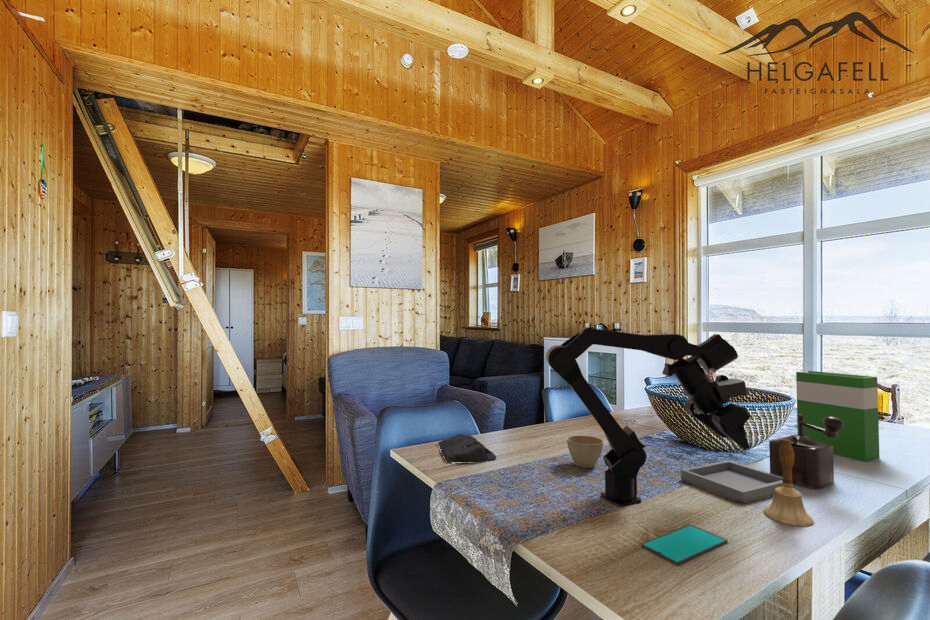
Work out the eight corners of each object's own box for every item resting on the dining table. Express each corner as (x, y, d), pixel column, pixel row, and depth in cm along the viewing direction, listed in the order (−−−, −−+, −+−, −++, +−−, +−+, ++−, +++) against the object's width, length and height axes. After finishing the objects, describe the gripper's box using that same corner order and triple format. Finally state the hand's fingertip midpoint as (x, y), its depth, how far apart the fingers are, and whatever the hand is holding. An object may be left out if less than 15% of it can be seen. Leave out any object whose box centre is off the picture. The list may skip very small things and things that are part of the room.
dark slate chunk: (478, 442, 146) (478, 428, 147) (498, 462, 125) (498, 446, 125) (434, 445, 143) (434, 431, 143) (447, 467, 121) (447, 450, 122)
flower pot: (605, 472, 116) (605, 445, 116) (567, 469, 118) (567, 443, 118) (601, 460, 125) (601, 435, 126) (566, 458, 127) (566, 434, 128)
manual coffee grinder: (766, 477, 112) (765, 407, 112) (788, 470, 117) (786, 403, 118) (841, 498, 98) (839, 419, 99) (861, 489, 104) (859, 414, 104)
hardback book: (797, 445, 140) (796, 371, 141) (811, 443, 143) (809, 370, 144) (865, 462, 124) (863, 378, 124) (879, 458, 127) (877, 376, 127)
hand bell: (817, 530, 83) (815, 447, 84) (765, 520, 88) (763, 441, 88) (810, 514, 90) (809, 437, 91) (762, 505, 95) (761, 432, 95)
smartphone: (728, 540, 79) (678, 563, 71) (728, 544, 79) (678, 568, 71) (690, 524, 85) (640, 543, 78) (690, 528, 85) (640, 548, 78)
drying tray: (743, 503, 96) (743, 492, 96) (681, 479, 110) (680, 469, 110) (792, 490, 103) (792, 480, 103) (728, 469, 118) (727, 460, 118)
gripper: (750, 368, 87) (795, 434, 86) (707, 360, 106) (744, 414, 105) (702, 397, 88) (746, 463, 87) (668, 383, 107) (704, 438, 106)
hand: (735, 442), depth 96 cm, fingers open, 9 cm apart
